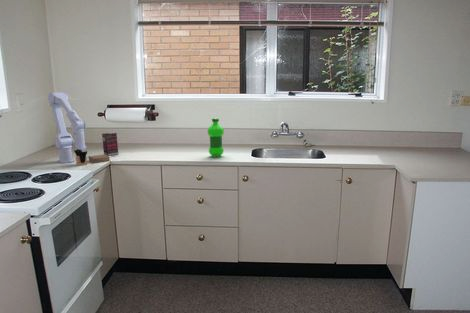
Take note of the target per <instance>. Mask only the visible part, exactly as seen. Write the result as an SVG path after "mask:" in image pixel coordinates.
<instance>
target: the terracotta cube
mask: <svg viewBox="0 0 470 313" xmlns="http://www.w3.org/2000/svg"><path fill="white" fill-rule="evenodd" d="M75 162H76V163H75V164H76V165H77V166H78V167H79V166H87V165H88V159H87V156H86V158H85V163H81V161H80V157H79V156H76V155H75Z"/></svg>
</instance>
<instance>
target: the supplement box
mask: <svg viewBox="0 0 470 313" xmlns="http://www.w3.org/2000/svg"><path fill="white" fill-rule="evenodd" d="M117 135H118V134H117V132H116V131H115V132H114V131H113V132H105V133H102V134H101V136H102V146H103V147H102V150H103V154H104V155H107V156H112V157H114V156H113V155H118V156H119V146H118V136H117Z"/></svg>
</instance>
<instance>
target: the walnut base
mask: <svg viewBox="0 0 470 313" xmlns="http://www.w3.org/2000/svg"><path fill="white" fill-rule="evenodd" d="M88 161H89V162H90V163H93V164H97V163H105V162H106V163H107V162H110V157H109V156H107V155H104V153H103V154H96V155H89V156H88Z"/></svg>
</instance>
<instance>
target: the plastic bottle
mask: <svg viewBox="0 0 470 313" xmlns="http://www.w3.org/2000/svg"><path fill="white" fill-rule="evenodd" d="M211 122H212V124H211V125H210V126H209V127H208V128H207V135H208V136H209V147H208V153H209V155H210V156H212V157H213V158H220V157H222V155H223V154H224V152H225V151H224V147H223V135H224V134H225V131H224V130H225V129H224V128H223V127H222V126H221V125H220V124H219V122H220V120H219V118H218V117H217V118H216V117H215V118H212V119H211Z"/></svg>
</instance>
